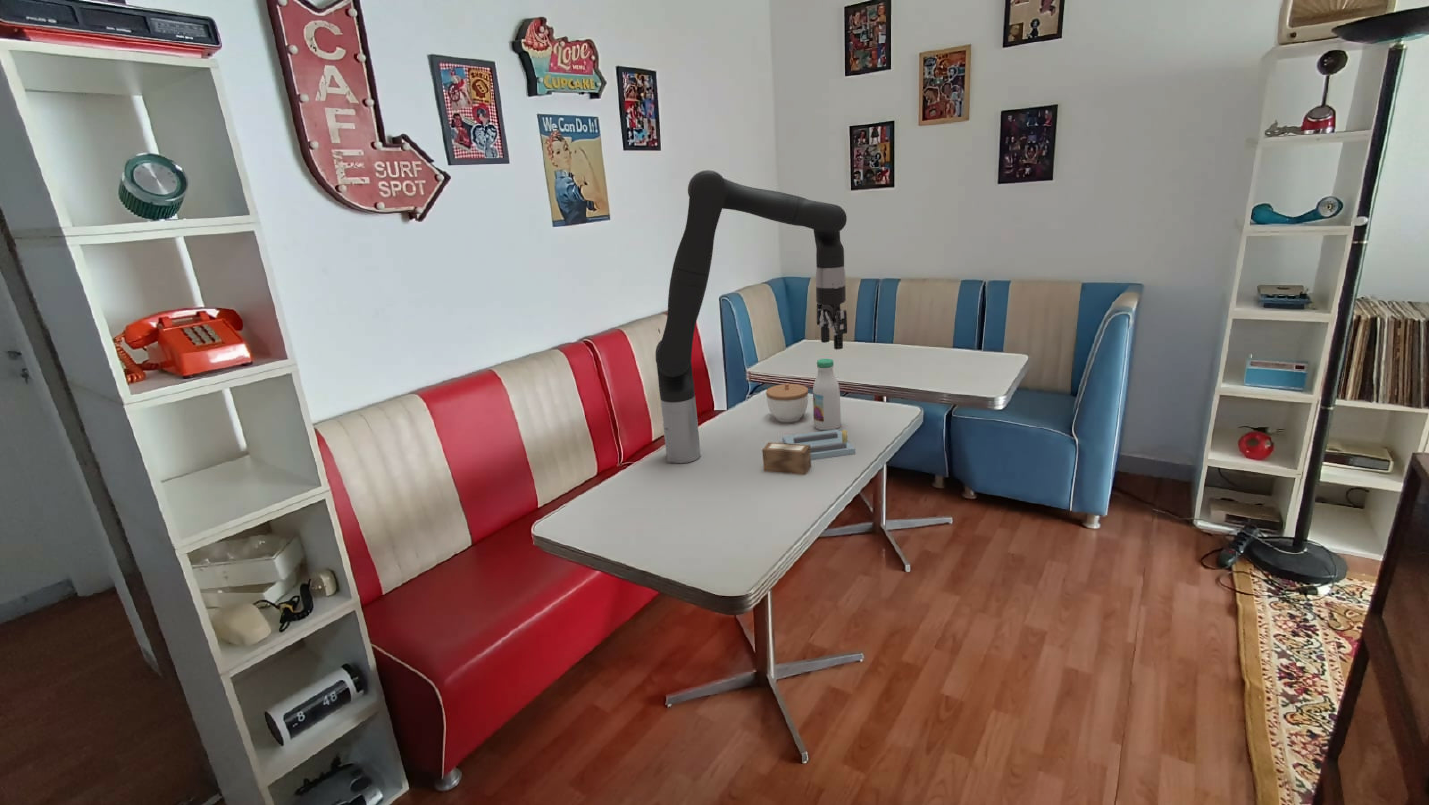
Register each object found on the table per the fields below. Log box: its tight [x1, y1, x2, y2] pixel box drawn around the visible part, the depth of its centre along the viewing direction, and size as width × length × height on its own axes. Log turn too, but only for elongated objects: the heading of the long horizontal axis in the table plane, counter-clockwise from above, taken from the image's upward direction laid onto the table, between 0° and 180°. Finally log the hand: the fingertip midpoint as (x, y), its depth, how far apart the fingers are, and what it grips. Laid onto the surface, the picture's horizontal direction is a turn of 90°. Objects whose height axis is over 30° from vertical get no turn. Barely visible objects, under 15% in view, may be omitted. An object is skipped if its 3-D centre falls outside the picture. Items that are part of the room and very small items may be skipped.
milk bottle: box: [812, 358, 842, 431], centre depth 199 cm, size 8×8×20 cm
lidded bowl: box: [765, 382, 809, 423], centre depth 210 cm, size 13×13×11 cm
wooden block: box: [762, 441, 812, 475], centre depth 176 cm, size 11×5×6 cm, turn 67°
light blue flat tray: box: [781, 428, 856, 461], centre depth 187 cm, size 16×15×4 cm
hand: (831, 345), depth 184 cm, fingers open, 8 cm apart
